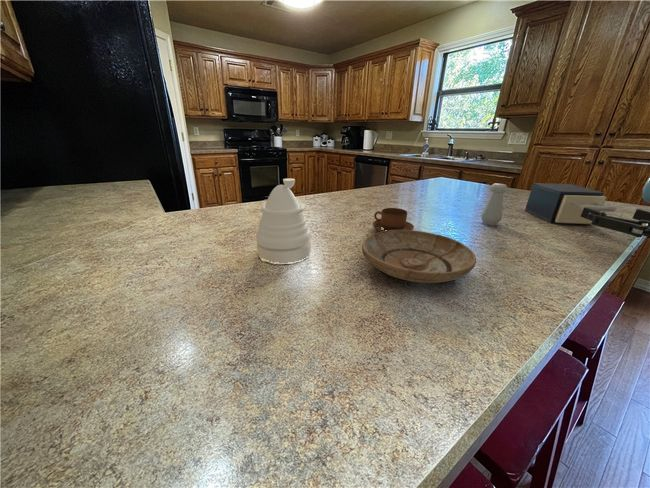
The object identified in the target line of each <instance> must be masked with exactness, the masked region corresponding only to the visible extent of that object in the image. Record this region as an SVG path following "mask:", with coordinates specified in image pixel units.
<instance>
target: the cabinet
mask: <svg viewBox="0 0 650 488" xmlns="http://www.w3.org/2000/svg"><path fill="white" fill-rule="evenodd" d="M563 194H580V195H596V196H604V194H605V193H604V192H602V191H599V190H595V189H591V188H587V187H584V186H579V185H575V184H572V183H547V182H545V183H543V182H533V183H532V185H531V190H530V193H529V195H528V199H527V202H526V205H525V209H524V211H525V212H526V213H528V214H530V215H532V216H535V217H537V218H539V219H540V220H543V221H544V222H546V223H549V224H558V223H557V222H555V219H554V217H555V214H556V211H557V208H558V206H559V203H560V200H561V197H562V195H563ZM565 224H567V225H583V224H582V223H564V225H565Z"/></svg>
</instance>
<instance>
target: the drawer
mask: <svg viewBox="0 0 650 488" xmlns="http://www.w3.org/2000/svg"><path fill="white" fill-rule="evenodd" d="M607 199H608V198H607V196H604V195H603V196H596V195H580V194H563V195H562V197H561V200H560V203H559V206H558V208H557V211H556V214H555V217H554V219H555V222H557V223H556V224H565V223H582V224H581V225H591V223H592V221H591V220H588V219H585V218H583V217H580V216H581V214H582V211H583V209H584V207H587V208H590V209H593V210H596V211H599V212H610V213H611V212H615V211H616V210H617V207H616V206H614V205H605V201H606V200H607Z"/></svg>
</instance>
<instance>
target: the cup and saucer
mask: <svg viewBox="0 0 650 488" xmlns="http://www.w3.org/2000/svg"><path fill="white" fill-rule="evenodd" d="M378 214H379V215H381V217H380V218H378V217H377V215H378ZM373 218H374V221H373V222H372V227H373V228H374V229H375V230H376V231H378V232H382V231H385V230H387V231H388V230H414V228H415V226H414V225H413V224H412V223H411V222H409V221H407V219H408V211H407V210H405V209H404V208H398V207H386V208H383V209H382V210H381V211H379V210H378V211H376V212H374V215H373ZM381 227H383V228H384V230H381Z"/></svg>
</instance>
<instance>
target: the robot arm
mask: <svg viewBox="0 0 650 488" xmlns="http://www.w3.org/2000/svg"><path fill="white" fill-rule="evenodd" d="M641 197H642V200H643V201H644V202H645V203H647V204H650V177H649V178H648V179H647V181H646V182H645V184H644V186H643V188H642V196H641ZM580 217H583V218H585V219H588V220H591V221H592V223H591V224H590V225H591V226H596V227H600V228H602V229H607V230H611V231H615V232H619V233H623V234H627V235H629V236H633V237H634V238H642V237H647V238H648V239H650V211H647V210H644V209H640V208H636V210H635V212H634V214H633V215H632V219H633V220H632V219H630V218H629V219H627V218H623V217H617V216H612V215H607V213H606V211H600V212H599V211H596V210H593V209H590V208H587V207H584V209H583V211H582V214H581V216H580ZM643 224H645V225H643Z"/></svg>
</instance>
